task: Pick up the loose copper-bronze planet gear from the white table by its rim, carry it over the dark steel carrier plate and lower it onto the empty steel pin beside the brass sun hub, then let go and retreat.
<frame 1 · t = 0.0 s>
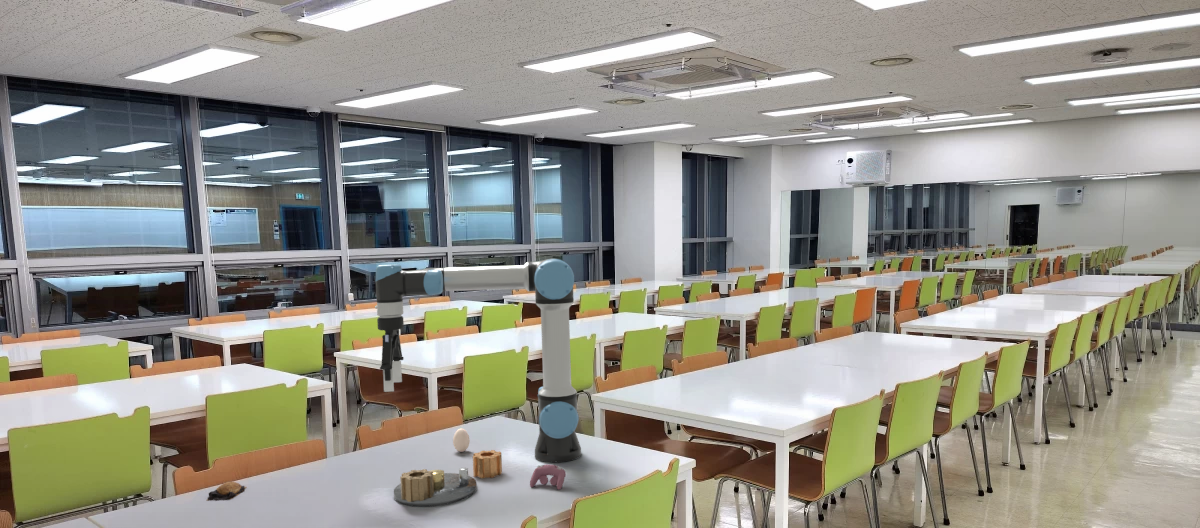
hand: (393, 386, 218), 28 cm above the table, fingers open, 13 cm apart
video game controller: (548, 486, 209), on the table
brown and black mound: (227, 496, 211), on the table
planet gear: (487, 473, 222), on the table
carrier: (435, 491, 207), on the table
egg: (461, 452, 245), on the table
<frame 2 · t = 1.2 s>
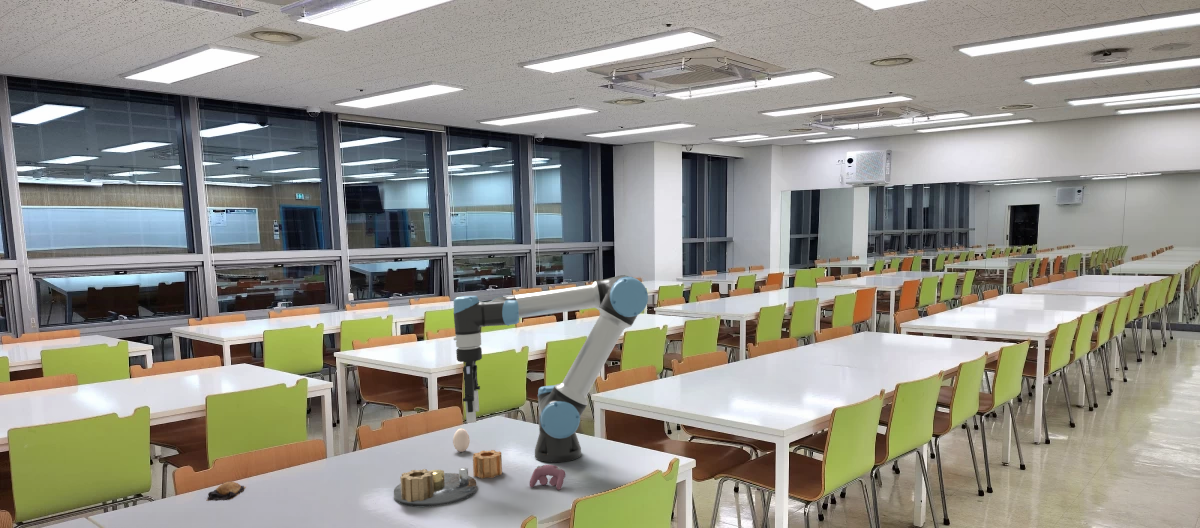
hand: (473, 416, 221), 18 cm above the table, fingers open, 13 cm apart
nothing on the table moved.
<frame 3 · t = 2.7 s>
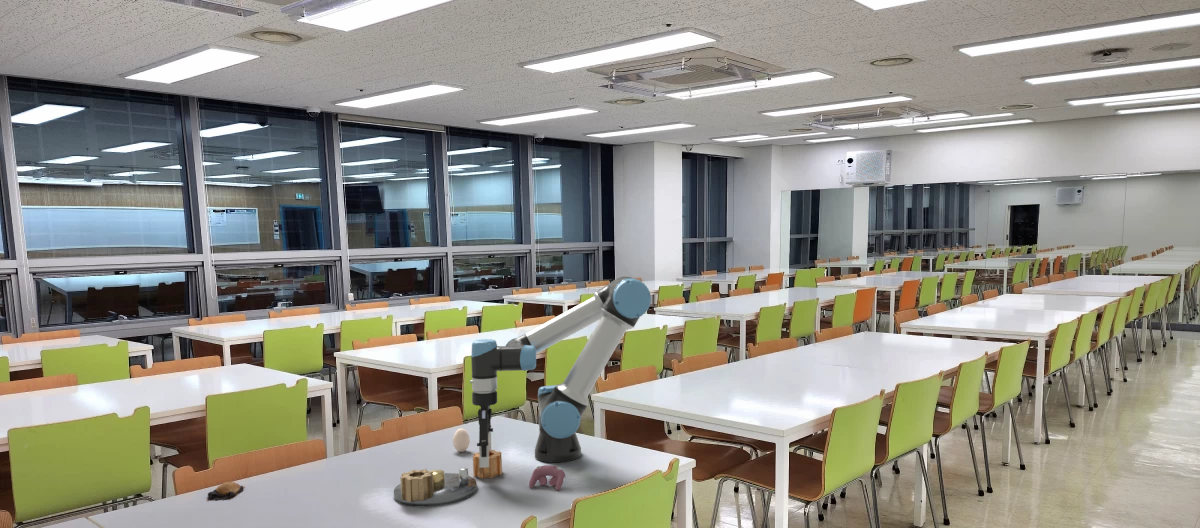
hand: (485, 460, 221), 4 cm above the table, fingers open, 13 cm apart
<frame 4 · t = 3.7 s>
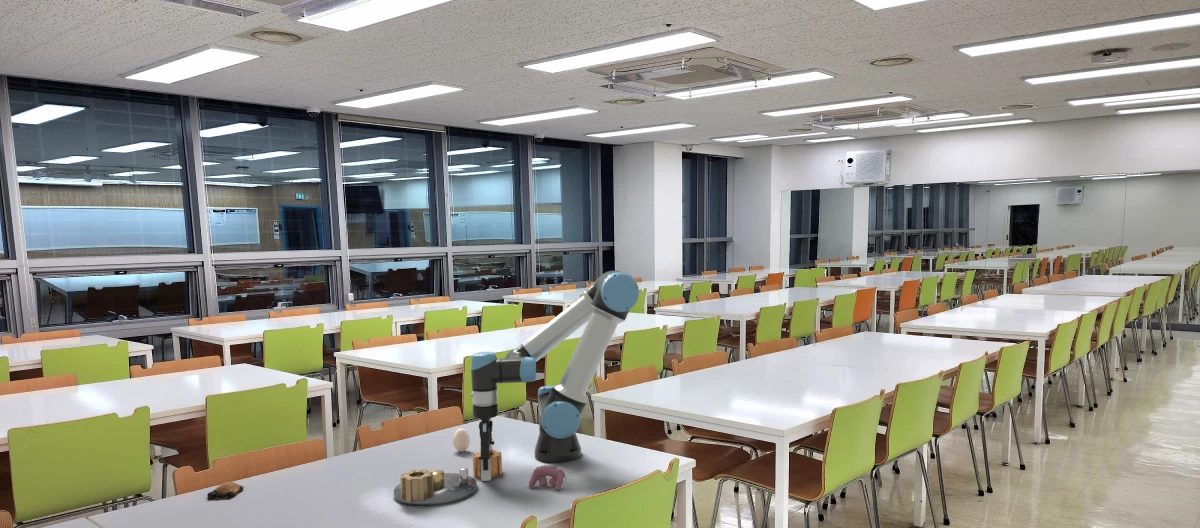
hand: (487, 473, 222), 0 cm above the table, fingers open, 12 cm apart
nothing on the table moved.
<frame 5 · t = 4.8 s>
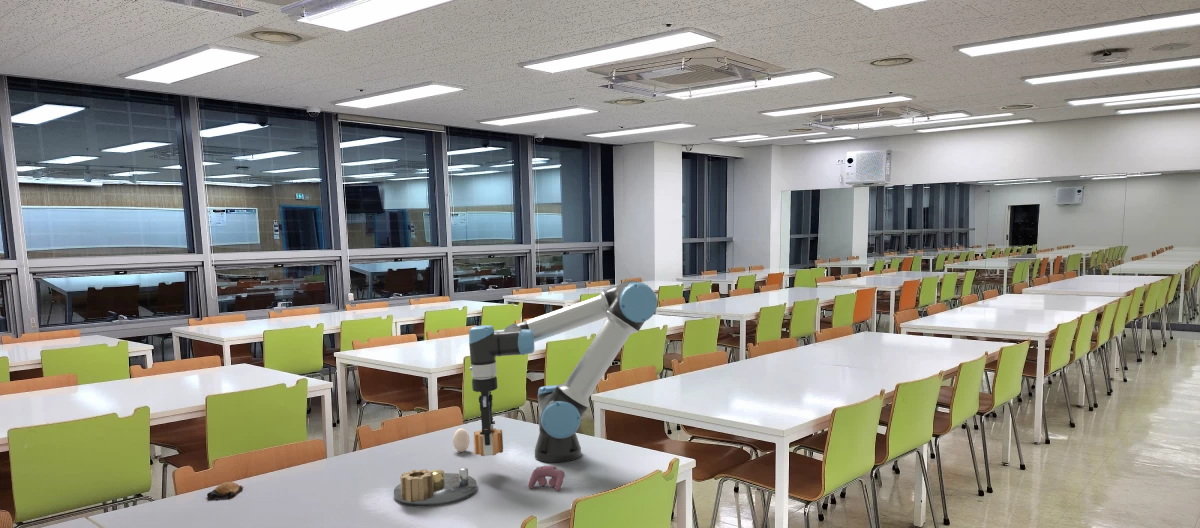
hand: (489, 450, 221), 7 cm above the table, fingers closed on planet gear, 8 cm apart
planet gear: (489, 451, 221), point 7 cm above the table, touching gripper
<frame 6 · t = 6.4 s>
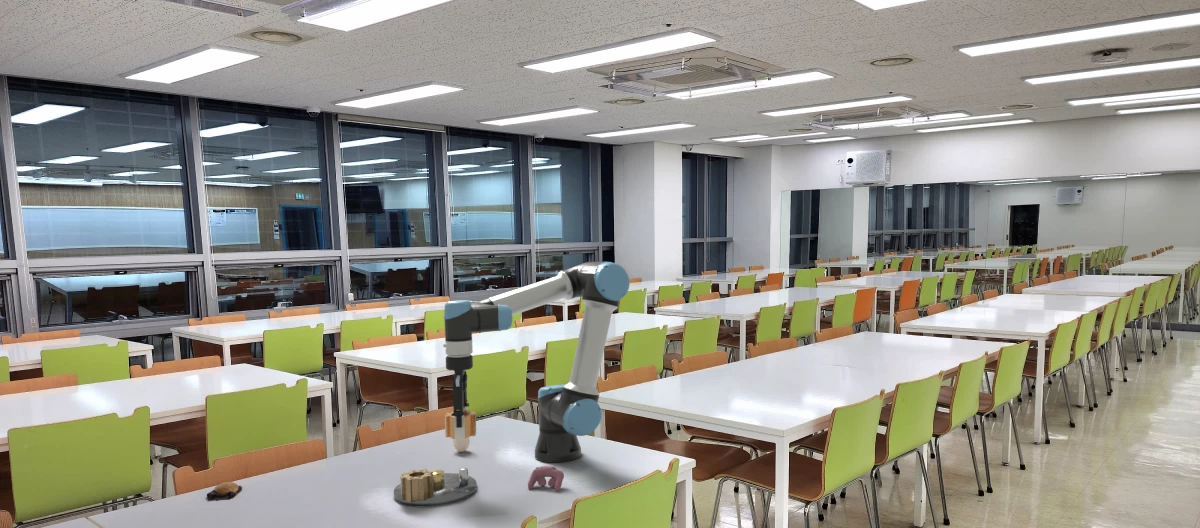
hand: (461, 433, 207), 16 cm above the table, fingers closed on planet gear, 8 cm apart
planet gear: (460, 434, 207), point 16 cm above the table, touching gripper
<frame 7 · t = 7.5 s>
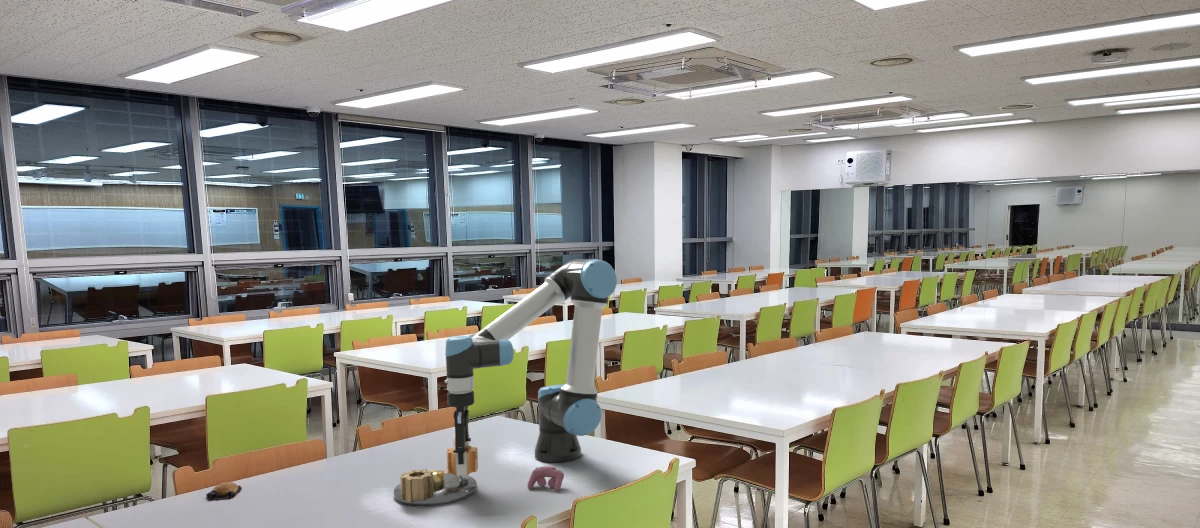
hand: (463, 469, 208), 6 cm above the table, fingers closed on planet gear, 8 cm apart
planet gear: (462, 470, 208), point 6 cm above the table, touching gripper
when the fingers open (2 cm above the table, at t = 8.6 s): planet gear stays where it is, resting on carrier.
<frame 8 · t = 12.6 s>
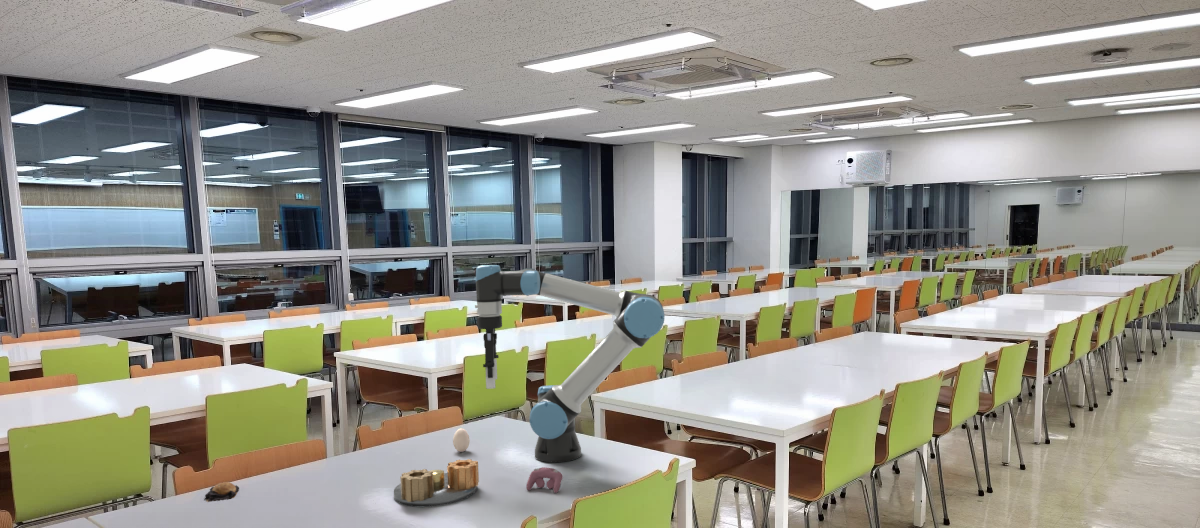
hand: (491, 383, 225), 27 cm above the table, fingers open, 13 cm apart
video game controller: (544, 489, 207), on the table
planet gear: (463, 484, 208), point 1 cm above the table, touching carrier
at the end: planet gear 0.2 cm from the target spot on the carrier, point 1.5 cm above the carrier's base; planet gear tilted 0°; the gripper is holding nothing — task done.
